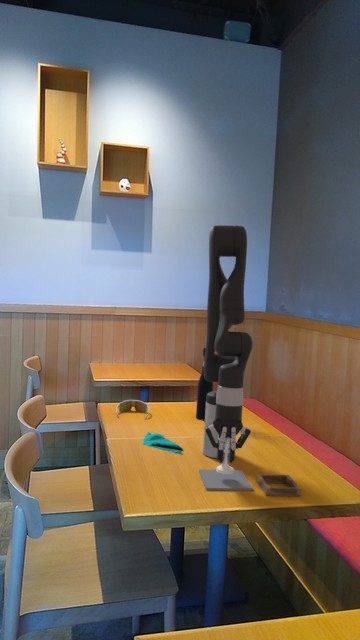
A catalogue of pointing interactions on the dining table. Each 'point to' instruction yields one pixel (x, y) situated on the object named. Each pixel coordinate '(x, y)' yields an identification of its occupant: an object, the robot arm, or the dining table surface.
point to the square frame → (278, 491)
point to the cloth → (160, 442)
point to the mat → (225, 480)
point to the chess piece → (225, 461)
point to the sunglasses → (133, 403)
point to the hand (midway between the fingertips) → (225, 461)
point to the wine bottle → (202, 393)
